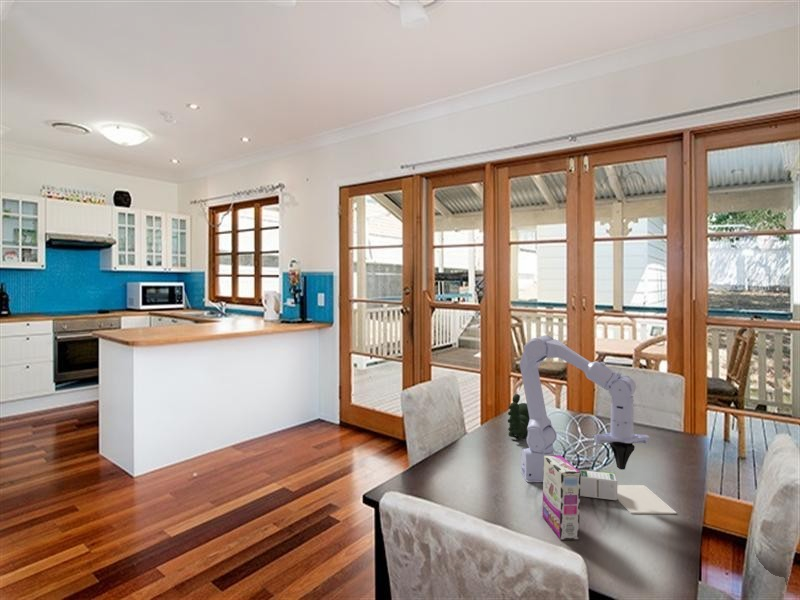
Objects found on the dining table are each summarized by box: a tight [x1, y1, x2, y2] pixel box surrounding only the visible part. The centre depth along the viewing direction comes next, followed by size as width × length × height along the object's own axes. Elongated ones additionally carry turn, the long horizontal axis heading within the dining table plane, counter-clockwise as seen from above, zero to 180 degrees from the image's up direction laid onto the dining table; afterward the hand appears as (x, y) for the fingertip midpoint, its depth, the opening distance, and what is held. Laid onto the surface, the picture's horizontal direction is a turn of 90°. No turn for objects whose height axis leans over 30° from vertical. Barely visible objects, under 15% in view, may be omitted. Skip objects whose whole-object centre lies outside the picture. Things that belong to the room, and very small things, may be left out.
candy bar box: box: [542, 454, 581, 541], centre depth 112 cm, size 11×5×16 cm, turn 5°
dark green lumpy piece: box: [507, 393, 530, 439], centre depth 181 cm, size 9×19×25 cm
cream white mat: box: [616, 484, 678, 515], centre depth 127 cm, size 12×16×1 cm
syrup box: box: [576, 468, 618, 501], centre depth 130 cm, size 6×6×14 cm
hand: (620, 468), depth 127 cm, fingers closed
